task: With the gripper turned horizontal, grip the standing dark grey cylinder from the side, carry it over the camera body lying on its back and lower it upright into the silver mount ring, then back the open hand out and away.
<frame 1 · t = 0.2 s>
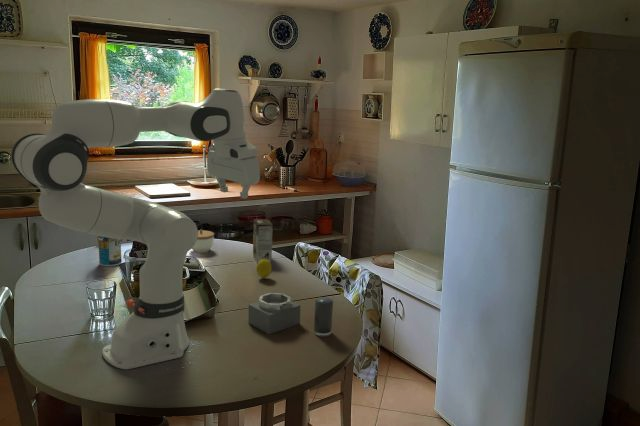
hand: (234, 194, 159), 40 cm above the table, tool pointing down, fingers open, 8 cm apart
lemon: (263, 279, 208), on the table
dark grey cylinder: (322, 332, 165), on the table
coffee box: (261, 259, 230), on the table
camera body: (274, 323, 170), on the table
beverage bottle: (110, 264, 216), on the table
lidded jar: (201, 251, 237), on the table
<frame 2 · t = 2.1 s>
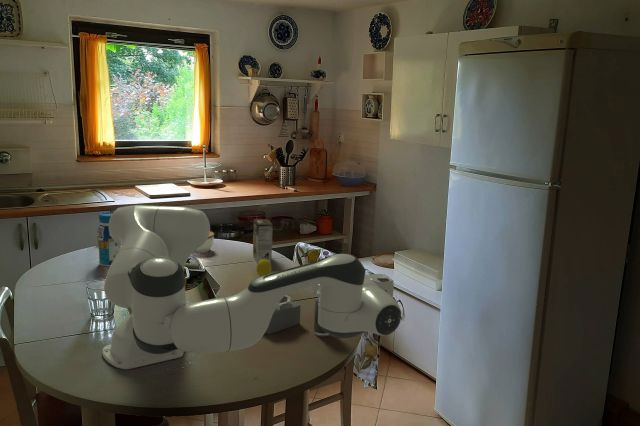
hand: (341, 276, 148), 22 cm above the table, tool horizontal, fingers open, 8 cm apart
nothing on the table moved.
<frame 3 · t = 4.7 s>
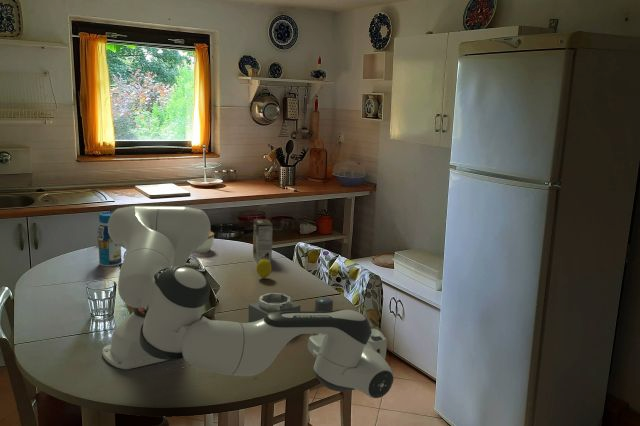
hand: (336, 330, 154), 5 cm above the table, tool horizontal, fingers open, 8 cm apart
nothing on the table moved.
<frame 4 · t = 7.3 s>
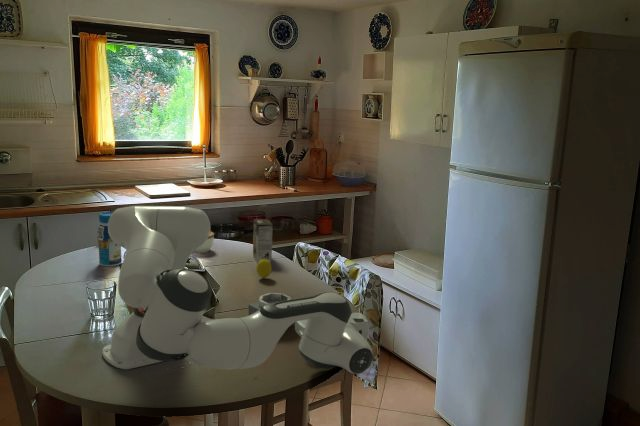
hand: (322, 314, 164), 6 cm above the table, tool horizontal, fingers closed on dark grey cylinder, 5 cm apart
dark grey cylinder: (322, 332, 165), on the table, touching gripper
everything else where it was.
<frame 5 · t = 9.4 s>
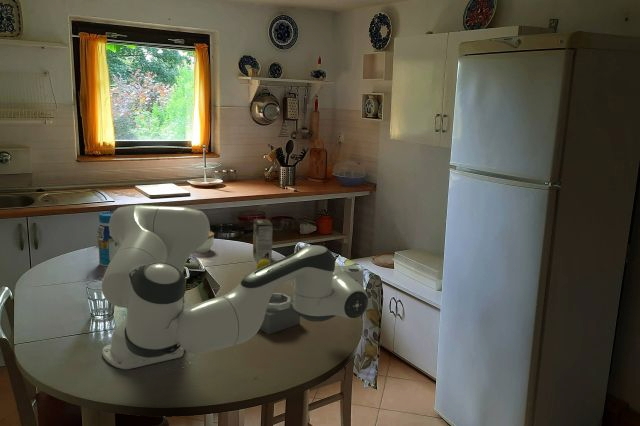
hand: (316, 267, 162), 20 cm above the table, tool horizontal, fingers closed on dark grey cylinder, 5 cm apart
dark grey cylinder: (317, 286, 162), point 14 cm above the table, touching gripper
everything else where it was.
when the fingers open (13 cm above the table, at t = 11.8 s): dark grey cylinder drops 1 cm, resting on camera body.
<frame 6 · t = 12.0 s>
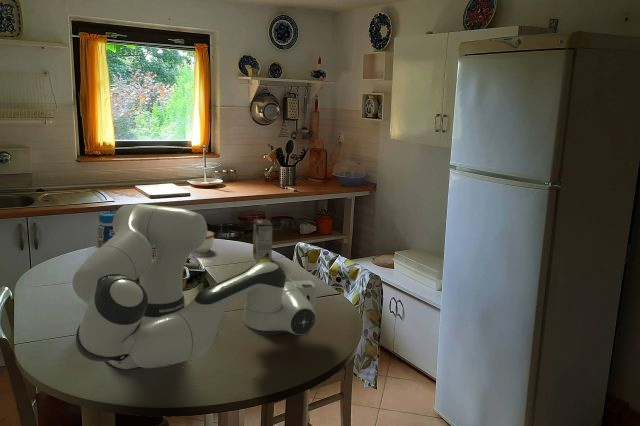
hand: (274, 282, 167), 13 cm above the table, tool horizontal, fingers open, 7 cm apart
dark grey cylinder: (274, 304, 168), point 6 cm above the table, touching camera body
everything else where it was.
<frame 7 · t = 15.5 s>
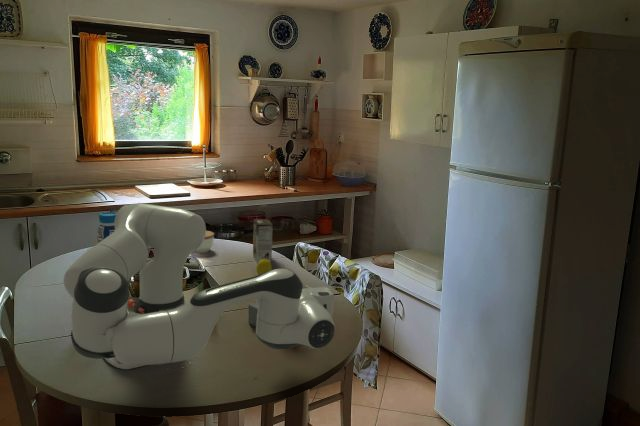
hand: (287, 288, 155), 16 cm above the table, tool horizontal, fingers open, 8 cm apart
nothing on the table moved.
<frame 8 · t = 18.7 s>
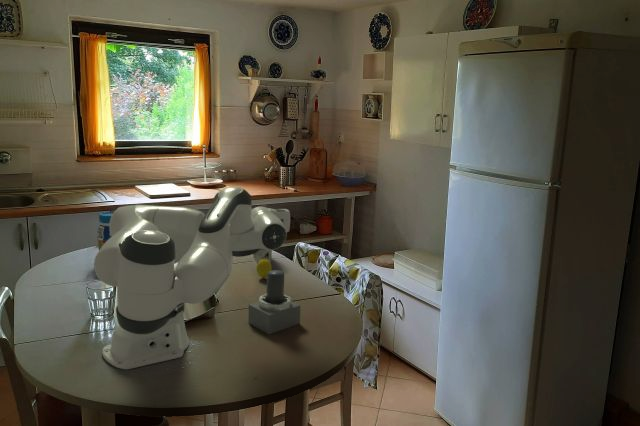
hand: (251, 211, 174), 32 cm above the table, tool horizontal, fingers open, 8 cm apart
nothing on the table moved.
at the end: dark grey cylinder 0.1 cm off-centre on the camera body, point 6.0 cm above the camera body's base; dark grey cylinder tilted 0°; the gripper is holding nothing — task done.
